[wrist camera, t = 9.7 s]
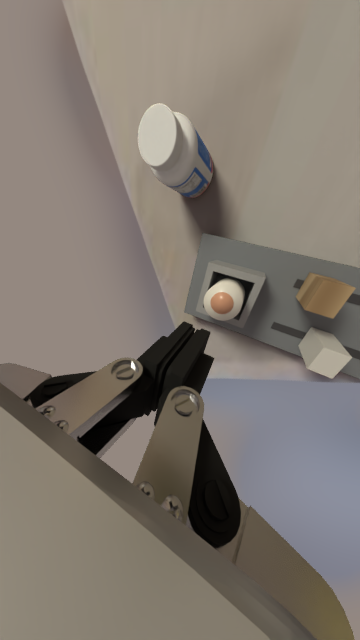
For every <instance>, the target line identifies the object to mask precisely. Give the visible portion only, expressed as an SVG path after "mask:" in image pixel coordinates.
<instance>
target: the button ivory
mask: <svg viewBox="0 0 360 640" xmlns="http://www.w3.org/2000/svg"><path fill="white" fill-rule="evenodd" d="M244 297H245V290H244V287H243V285H242V284H241V283H240V282H239V281H238V280H236V279H233V278H224V279H222V280H220V281H218V282H217V283H216V284H215V285H214V286H212V287H211V288H210V289H209V290H208V291H207V292H206V294H205V296H204V307H205V310H206V312H207V313H208V314H209V315H210V316H211V317H212V318H214V319H217V320H221V321H226V320H230V319H232V318H234V317H235V316H237V314H238V313H239V312H240V310H241V307H242V304H243V300H244Z"/></svg>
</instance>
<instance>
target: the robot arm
mask: <svg viewBox="0 0 360 640" xmlns="http://www.w3.org/2000/svg"><path fill="white" fill-rule="evenodd" d="M194 331H195V328H193V325H192V324H189V323H187V322H183V323H182V324H181V325H180V326H179V327H178V328H177V329H176V330H175V331H174V332H172V333H171V334H170V336H169V337H165V336H162V337H161V338H160V339H159V340H158V341H157V342H155V343H154V344H153V345H152V346H151V347H150V348H149V349H148V350H147V351H146V352H145V353H143V355H141V356H140V357H139V358H138V359H137V360H135V359H132V358H120V359H117V360H115V361H113V362H112V363H110V364H108V365H107V366H105V367H103V368H102V369H100V370H99V371H95V372H87V373H79V374H71V375H63V376H57V377H52V376H51V375H50V374H46V373H44V372H40V371H37V370H34V369H30V368H27V367H23V366H20V365H17V364H12V363H6V364H0V640H354V636H353V632H352V629H351V627H350V624H349V621H348V619H347V617H346V614H345V611H344V609H343V607H342V606H341V604H340V602H339V600H338V599H337V597H336V595H335V593H334V592H333V590H332V589H331V587H330V586H329V585H328V584H327V582H326V581H325V580H324V579H323V578H322V576H321V575H320V574H319V573H318V572H316V570H315V569H314V568H313V567H312V566H311V565H310V564H309V563H307V561H306V560H305V559H304V558H302V556H301V555H300V554H299V553H298V552H297V551H296V550H295V549H294V548H293V547H292V546H290V544H289V543H288V542H287V541H286V540H284V538H282V537H281V536H280V535H279V534H278V533H277V532H276V531H275V530H274V529H273V528H272V527H271V526H270V525H269V524H268V523H267V522H266V521H265V520H264V519H263V518H262V517H261V516H260V515H259V514H258V513H257V512H256V511H255V510H254V509H253V508H252V507H251V506H250V507H249V508H248V507H247V506H246V505H245V504H244V503H243V502H242V501H241V500H240V499H239V498H238V495H237V493H236V490H235V488H234V486H233V483H232V481H231V480H230V477H229V475H228V472H227V470H226V468H225V466H224V464H223V462H222V459H221V457H220V455H219V453H218V451H217V449H216V446H215V444H214V442H213V440H212V438H211V435H210V433H209V431H208V429H207V427H206V425H205V423H204V420H203V412H204V402H203V400H202V398H201V396H200V393H201V390H202V388H203V385H204V383H205V381H206V378H207V376H208V373H209V370H210V368H211V365H212V363H213V360H214V358H213V357H211V356H208V355H206V354H204V350H205V347H206V344H207V341H208V338H209V335H210V332H209V331H207V330H204V329H201V330H198V329H197V330H196V332H195V333H194ZM156 409H157V413H156V417H155V422H154V425H155V429H154V431H153V434H152V436H151V439H150V441H149V444H148V446H147V448H146V451H145V453H144V456H143V458H142V461H141V463H140V466H139V468H138V471H137V473H136V476H135V478H134V481H133V483H130V482H129V481H128V480H127V479H125V478H124V477H123V476H122V475H120V474H119V473H118V472H116V471H115V470H114V469H112V468H111V467H110V466H108V465H107V464H106V463H105V462H103V461H102V460H101V459H100V458H101V457H102V455H104V453H105V452H106V451H107V450H108V449H109V448H110V447H111V446H112V445H113V444H114V443H115V442H116V441H117V440H118V438H120V436H121V435H122V434H123V433H124V432H125V431H126V430H127V429H128V428H129V427H130V426H131V425H132V424H133V422H134V421H135V420H136V418H137V417H141V416H143V415H144V414H146V415H147V416H148V415H149V414H150V412H151V410H153V411H156Z"/></svg>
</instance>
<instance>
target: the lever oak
mask: <svg viewBox="0 0 360 640" xmlns="http://www.w3.org/2000/svg"><path fill="white" fill-rule="evenodd" d="M355 289H356V288H355V287H352V286H350V285H348V284H346V283H343V282H341V281H339V280H337V279H334V278H331V277H326V276H322V275H318V274H314V273H310V272H309V274H308V276H307V278H306V279H305V281H304V283H303V285H302V286H301V288H300V290H299V292H298V293H297V295H296V298H297V300H298V301H299V302H300V304H301V305H302V307H303V308H304V310H307V311H310V312H313V313H316V314H320V315H323V316H326V317H329V318H334V317H335V316H336V314H337V313H338V312H339V310H340V309H341V308H342V306H343V305H344V304H345V302H346V301H347V299H348V298H349V297H350V295H351V294H352V293H353V291H354V290H355Z"/></svg>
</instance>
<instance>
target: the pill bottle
mask: <svg viewBox="0 0 360 640" xmlns="http://www.w3.org/2000/svg"><path fill="white" fill-rule="evenodd" d="M138 146H139V151H140V153H141V156H142V158H143V159H144V161H145V162H146V163H147V164H148V165H149V166H150V167H151V169H152V172H153V174H154V175H155V177H156V178H157V179H158V180H159V181H160V182H162V183H163V184H165V185H166V186H168V187H170V188H172V189H173V190H175V191H177V192H179V193H180V194H182V195H183V196H185V197H188V198H195V197H198V196H199V195H201V194H202V193H203V192H204V191H205V190H206V189H207V187H208V186H209V184H210V182H211V179H212V175H213V162H212V158H211V156H210V153H209V152H208V150H207V148H206V146H205V145H204V143H203V141H202V140H201V138H200V136H199V135H198V133H197V131H196V130H195V128H194V126H193V125H192V123H191V122H190V120H189V119H188V118H187V117H186V116H185V115H183V114H181V113H178V112H172V111H171V109H170V108H169V107H168V106H166V105H164V104H161V103H160V104H159V103H158V104H155V105H152V106H151V107H150V108H148V110H147V111H146V112H145V114H144V115H143V117H142V119H141V122H140V125H139V130H138Z"/></svg>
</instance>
